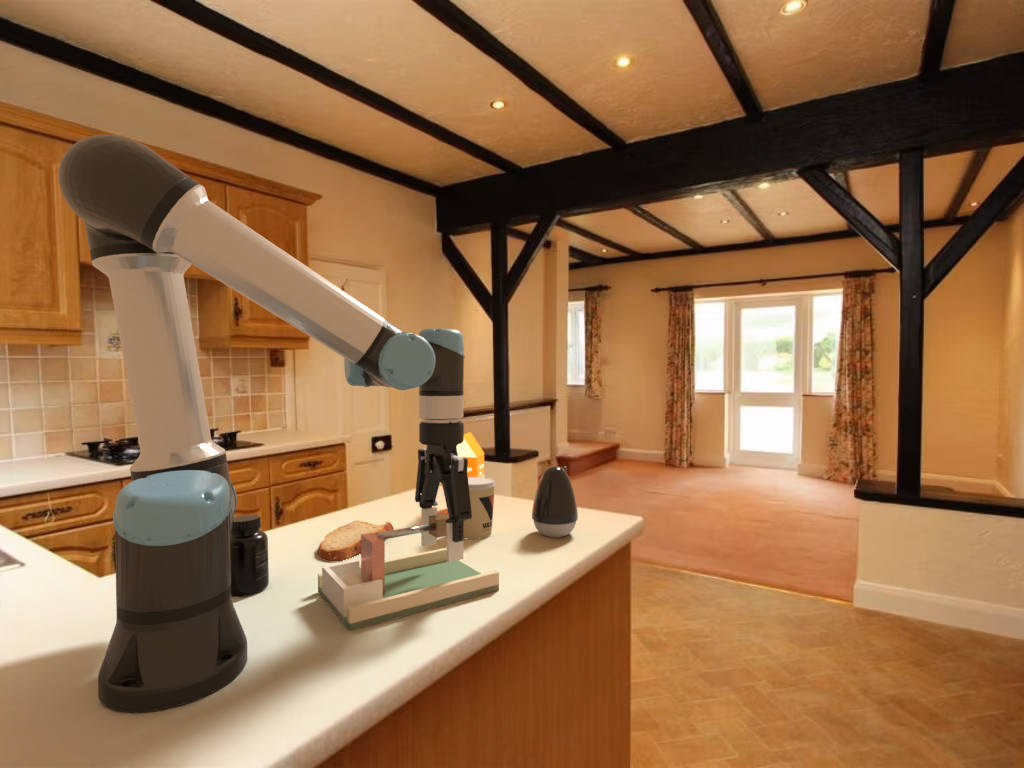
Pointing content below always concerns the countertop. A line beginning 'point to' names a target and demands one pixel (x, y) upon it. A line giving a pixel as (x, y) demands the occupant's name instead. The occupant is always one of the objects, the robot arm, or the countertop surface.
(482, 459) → the orange juice
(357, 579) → the ball
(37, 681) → the countertop surface
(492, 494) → the coffee cup
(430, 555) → the pitch
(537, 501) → the dark grey egg shape
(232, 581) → the supplement bottle
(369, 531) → the slice of bread
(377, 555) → the rod
